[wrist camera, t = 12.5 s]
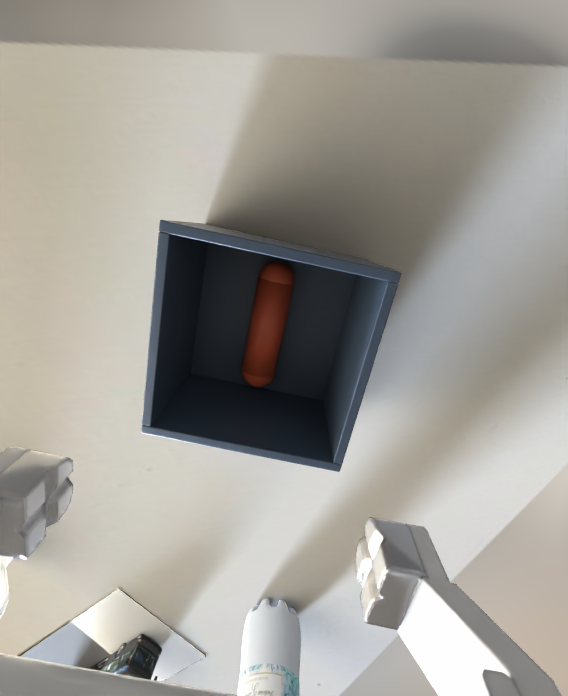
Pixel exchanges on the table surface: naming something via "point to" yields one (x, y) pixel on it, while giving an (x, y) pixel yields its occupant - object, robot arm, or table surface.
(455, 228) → the table surface
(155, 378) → the bin
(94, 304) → the table surface
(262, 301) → the orange round-ended cylinder
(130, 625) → the shiny metal sheet
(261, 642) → the bottle
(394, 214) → the table surface
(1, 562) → the mug
